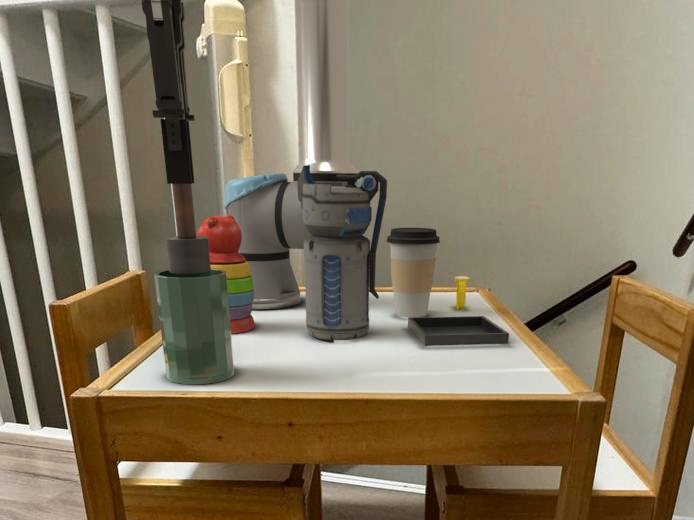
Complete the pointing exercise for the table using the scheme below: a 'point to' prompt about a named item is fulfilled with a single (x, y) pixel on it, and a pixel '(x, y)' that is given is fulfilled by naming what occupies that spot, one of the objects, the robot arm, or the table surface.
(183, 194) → the brush
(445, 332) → the tray
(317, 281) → the grey grenade canister
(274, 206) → the robot arm
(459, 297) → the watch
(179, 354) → the tumbler
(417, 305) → the coffee cup
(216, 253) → the stacking bear
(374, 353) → the table surface
